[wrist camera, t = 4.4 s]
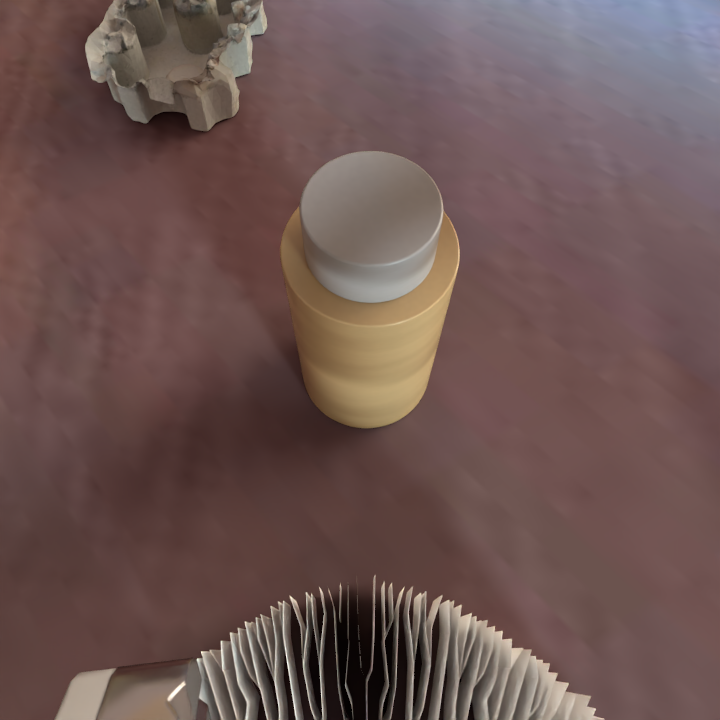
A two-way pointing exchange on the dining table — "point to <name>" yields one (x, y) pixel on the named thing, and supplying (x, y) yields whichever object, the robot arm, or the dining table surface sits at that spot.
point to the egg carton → (176, 56)
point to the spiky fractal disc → (456, 646)
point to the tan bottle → (368, 285)
